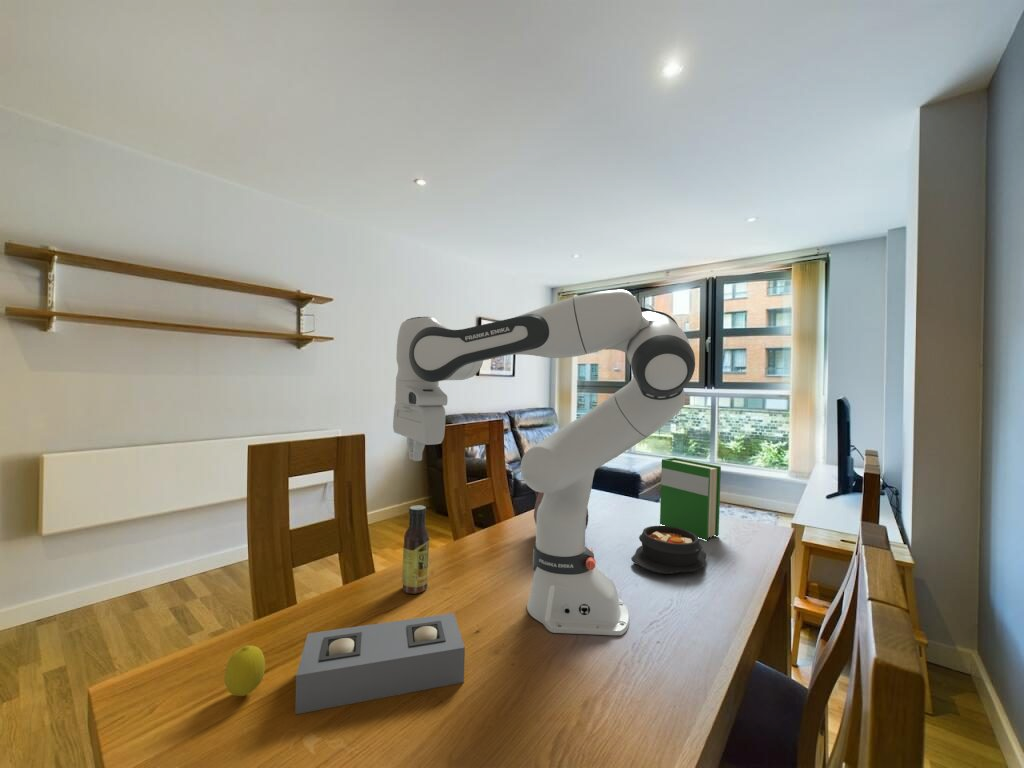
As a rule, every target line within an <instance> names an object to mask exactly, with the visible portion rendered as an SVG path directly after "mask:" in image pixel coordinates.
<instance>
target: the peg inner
mask: <svg viewBox="0 0 1024 768" xmlns="http://www.w3.org/2000/svg"><path fill="white" fill-rule="evenodd" d="M433 639H437V630H436V628H434V627H432V626H423V627H420V628H418V629H417V630H416V631H415V632H414V642H420V641H426V640H433Z"/></svg>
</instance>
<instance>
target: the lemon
mask: <svg viewBox="0 0 1024 768" xmlns="http://www.w3.org/2000/svg"><path fill="white" fill-rule="evenodd" d="M265 660H266V659H265V656H264V653H263V651H262V650H261V648H259V647H257V646H255V645H247V644H246V645H244V646H243V647H240V648H239V649H237V650H236V651H235V652H234V653H233V654H231V656H230V658H229V660H228V661H227V663H226V668H225V671H224V672H225V673H224V684H225V687H226V689H227V691H228V692H229V693H230V694H231V695H234V696H237V697H239V696H240V697H241V696H242V697H246V696H247V695H248V694H250V693H252V692H253V691H254V690H256V689H257V687H259V686H260V684H261V682H262V681H263V678H264V676H265V671H266V661H265Z"/></svg>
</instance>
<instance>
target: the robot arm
mask: <svg viewBox="0 0 1024 768" xmlns="http://www.w3.org/2000/svg"><path fill="white" fill-rule="evenodd" d="M396 340H397V341H396V342H397V343H396V363H397V373H396V377H395V403H394V408H393V418H392V419H393V420H392V421H393V422H392V429H393V433H395V434H398V435H401V436H403V437H406V444H407V447H408V454H409V455H408V458H409V459H410V460H412V461H413V462H419V461H420V462H421V461H422V460H423V452H424V449H425V446H426V445H427V446H428V445H429V446H430V445H439V444H442V443H443V441H444V438H445V432H446V431H445V430H446V409H445V407H444V406H447V405H448V399H449V398H448V395H447V393H445V392H444V391H443V390H442V389H441V386H439V382H443V381H465V380H468V379H470V378H473V377H474V376H476V375H477V374H478V373H479V372H480V370H481V369H482V366H483V362H484V361H487V360H492V359H497V358H501V357H505V356H515V355H524V356H533V357H534V356H536V357H542V358H549V359H565V358H574V357H579V356H585V355H589V354H592V353H596V352H600V351H603V350H605V351H606V350H607V351H608V350H612V351H613V350H615V351H621V352H624V353H625V355H626V358H627V361H628V363H629V364H630V366H631V372H632V375H633V377H632V379H630V381H629V382H628V383H627V384H625V385H624V386H622V387H621V388H620V389H618V390H617V391H616V392H614V393H612V394H611V395H610V396H609V397H607V398H606V399H604V400H603V401H601V402H600V403H599V404H598V405H596V406H595V407H593V408H592V409H591V410H589V411H588V412H586V413H585V414H583V415H581V416H580V417H578V418H576V419H574V420H573V421H571V422H569V423H568V424H566V425H565V426H563V427H561V428H558V430H556V431H555V432H553V433H552V434H549V435H548V436H547V437H546V438H543V439H542V440H541V441H539V442H538V443H536V444H534V445H532V447H530V448H529V449H528V450H527V451H525V453H524V454H523V456H522V458H521V461H520V473H521V477H522V479H523V481H524V483H525V484H526V485H527V486H528V487H529V488H530V489H531V490H533V491H534V492H535V491H537V492H541V493H544V496H543V498H542V501H541V503H540V505H539V507H538V510H537V518H536V523H535V529H536V531H535V544H534V546H533V549H532V550H533V551H532V567H533V568H532V569H533V577H532V578H533V579H532V585H531V589H530V594H529V598H528V600H527V604H526V609H527V610H526V611H527V612H528V613H529V615H530V616H531V617H532V618H533V619H535V620H536V621H538V622H540V623H541V624H542V625H543V626H544V628H545V629H546V630H547V631H549V632H550V633H554V634H572V635H573V634H575V635H578V634H579V635H596V636H597V635H599V636H600V635H601V636H602V635H603V636H622V635H624V634H625V633H626V632H627V631H628V629H629V625H630V613H629V610H628V607H627V605H626V603H625V602H624V601H623V600H622V599H621V598H619V594H618V590H617V587H616V584H615V583H614V581H613V580H612V579H611V578H610V577H609V576H607V575H606V574H605V573H604V572H602V571H601V570H600V569H599V568H598V567H596V560H595V553H594V551H593V548H592V547H591V548H590V549H589V548H588V547H586V530H587V528H586V514H587V508H588V506H589V501H590V498H591V497H590V496H591V492H592V487H593V480H594V477H595V472H596V470H597V469H598V468H600V467H602V466H604V465H605V464H607V463H608V462H610V461H613V460H614V459H616V458H618V457H619V456H620V455H622V454H623V453H625V452H626V451H628V450H630V449H631V448H633V447H634V446H636V445H638V444H639V443H641V442H642V441H643V440H645V439H647V438H649V437H650V436H652V435H653V434H654V433H656V432H657V431H659V430H660V429H661V428H662V427H664V426H665V425H666V424H667V423H668V422H670V421H671V420H672V419H673V418H674V417H675V416H676V415H677V414H678V413H679V412H680V411H682V409H683V408H684V406H685V404H686V392H685V390H684V388H685V387H686V386H687V385H688V384H689V382H691V379H692V377H693V375H694V373H695V369H696V358H695V351H694V350H693V348H692V346H691V344H690V340H689V339H688V336H687V335H686V333H685V332H684V330H683V329H682V328H681V327H680V326H679V324H678V323H677V321H676V320H675V319H674V318H673V316H671V315H669V314H668V313H665V311H661V310H658V309H657V310H656V309H651V308H647V307H642V306H640V303H639V300H637V298H636V297H635V296H634V294H633V293H632V292H630V291H628V290H625V289H611V290H602V291H595V292H594V291H593V292H590V293H589V292H588V293H585V294H580V295H575V296H572V297H569V298H565V299H562V300H559V301H556V302H552V303H550V304H548V305H545V306H542V307H540V308H537V309H534V310H531V311H529V312H526V313H523V314H520V315H516V316H514V317H511V318H505V319H502V320H498V321H494V322H488V323H485V324H480V325H476V326H470V327H466V328H460V329H451V328H449V327H447V326H445V325H444V324H442V323H440V322H439V321H438V320H437V319H436V318H434V317H432V316H416V317H415V316H414V317H410V318H407V319H406V320H404V321H403V322H402V323H401V324H400V327H399V330H398V334H397V339H396Z"/></svg>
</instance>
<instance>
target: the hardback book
mask: <svg viewBox="0 0 1024 768" xmlns="http://www.w3.org/2000/svg"><path fill="white" fill-rule="evenodd" d="M660 473H661V477H660V502H659V503H660V507H659V508H660V514H659V525H660V524H662V525H665V526H670V527H676V528H680V529H684V530H687V531H689V532H692V533H693V534H695V535H696V536H697V537H699V538H702V539H705V540H708V541H709V537H710V538H713V537H712V536H714V535H716V536H718V535H720V505H721V504H720V503H721V502H720V501H721V478H722V477H721V476H722V475H721V474H722V467H721V466H720V465H715V464H710V463H705V462H701V461H695V460H691V459H690V460H688V459H683V458H678V457H669V458H664V459H663V458H662V459H661V472H660Z"/></svg>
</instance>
